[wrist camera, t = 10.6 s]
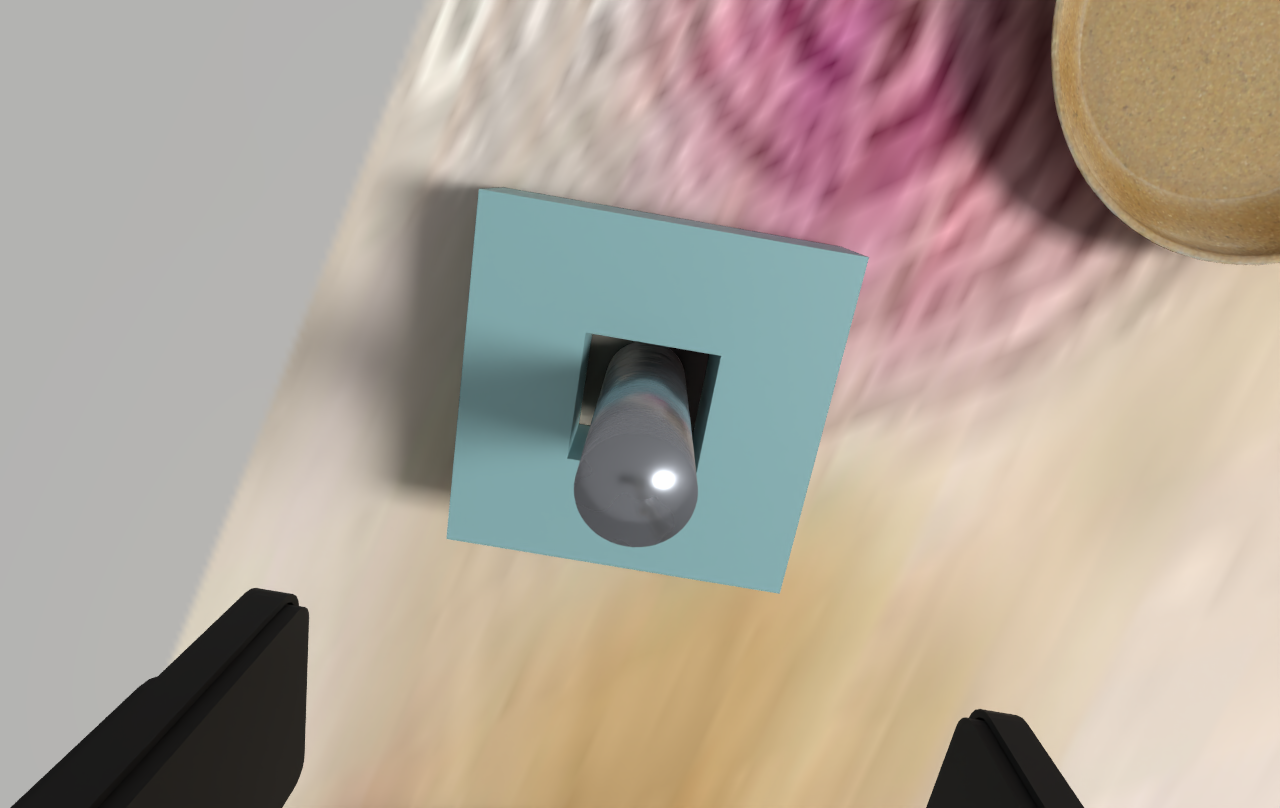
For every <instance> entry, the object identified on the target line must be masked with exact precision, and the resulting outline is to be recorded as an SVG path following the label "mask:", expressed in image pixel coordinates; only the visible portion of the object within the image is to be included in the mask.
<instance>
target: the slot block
mask: <svg viewBox="0 0 1280 808" xmlns="http://www.w3.org/2000/svg"><path fill="white" fill-rule="evenodd" d="M868 259H869V257H867V256H864V255H861V254H859V253H856V252H854V251H851V250H848V249H846V248H843V247H840V246H834V245H829V244H823V243H817V242H811V241H806V240H800V239H794V238H789V237H783V236H777V235H772V234H766V233H760V232H755V231H749V230H743V229H738V228H732V227H726V226H720V225H715V224H709V223H703V222H698V221H692V220H686V219H681V218H675V217H669V216H664V215H658V214H652V213H647V212H641V211H635V210H629V209H624V208H618V207H612V206H607V205H601V204H595V203H590V202H584V201H578V200H573V199H567V198H561V197H556V196H550V195H544V194H538V193H533V192H527V191H521V190H516V189H510V188H504V187H503V188H486V189H479V193H478V204H477V215H476V226H475V237H474V247H473V258H472V269H471V280H470V291H469V302H468V312H467V323H466V334H465V345H464V356H463V367H462V377H461V388H460V399H459V410H458V421H457V432H456V442H455V453H454V464H453V475H452V486H451V496H450V507H449V518H448V529H447V539H451V540H457V541H463V542H469V543H475V544H481V545H487V546H493V547H500V548H506V549H512V550H518V551H524V552H530V553H536V554H542V555H548V556H554V557H560V558H566V559H572V560H579V561H585V562H591V563H597V564H603V565H609V566H615V567H621V568H627V569H633V570H639V571H645V572H651V573H658V574H664V575H670V576H676V577H682V578H688V579H694V580H700V581H706V582H712V583H718V584H724V585H730V586H737V587H743V588H749V589H755V590H761V591H767V592H773V593H779V594H780V590H781V586H782V582H783V579H784V575H785V571H786V567H787V564H788V560H789V556H790V552H791V548H792V545H793V541H794V537H795V533H796V530H797V526H798V522H799V518H800V515H801V511H802V507H803V503H804V500H805V496H806V492H807V488H808V485H809V481H810V477H811V473H812V469H813V466H814V462H815V458H816V454H817V451H818V447H819V443H820V439H821V436H822V432H823V428H824V424H825V421H826V417H827V413H828V409H829V406H830V402H831V398H832V394H833V390H834V387H835V383H836V379H837V375H838V372H839V368H840V364H841V360H842V357H843V353H844V349H845V345H846V342H847V338H848V334H849V330H850V327H851V323H852V319H853V315H854V311H855V308H856V304H857V300H858V296H859V293H860V289H861V285H862V281H863V278H864V274H865V270H866V266H867V263H868ZM592 334H597V335H603V336H609V337H615V338H621V339H626V340H632V341H638V342H644V343H650V344H655V345H661V346H667V347H673V348H679V349H685V350H690V351H696V352H702V353H708V354H709V358H708V363H707V368H706V373H705V378H704V383H703V387H702V392H701V397H700V402H699V407H698V412H697V417H696V422H695V427H694V431H693V436H692V440H693V449H694V458H695V466H696V475H697V484H698V498H697V504H696V507H695V510H694V512H693V515H692V517H691V518H690V520H689V521H688V523H687V524H686V525H685V526H684V528H683V529H682V530H681V531H679V532H678V533H677V534H676V535H674V536H673V537H672V538H670V539H668V540H666V541H664V542H662V543H659V544H656V545H652V546H647V547H626V546H622V545H618V544H615V543H612V542H609V541H607V540H605V539H603V538H602V537H600V536H599V535H597V534H596V533H595V532H594V531H593V530H591V529H590V527H589V526H588V525H587V524H586V523H585V522H584V520H583V519H582V517H581V515H580V513H579V511H578V509H577V506H576V503H575V498H574V481H575V476H576V473H577V469H578V466H579V462H580V459H581V456H582V452H583V449H584V445H585V442H586V439H587V435H588V432H589V428H590V426H588V425H582V424H579V420H580V413H581V407H582V400H583V393H584V387H585V380H586V373H587V367H588V360H589V353H590V347H591V340H592Z"/></svg>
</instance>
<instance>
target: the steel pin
mask: <svg viewBox="0 0 1280 808" xmlns="http://www.w3.org/2000/svg"><path fill="white" fill-rule="evenodd" d="M574 498H575V503H576V506H577V509H578V511H579V513H580V515H581V517H582V519H583V520H584V522H585V523H586V524H587V525H588V526H589V527H590V529H591V530H593V531H594V532H595V533H596V534H597V535H599V536H600V537H602V538H603V539H605V540H607V541H609V542H612V543H615V544H618V545H622V546H626V547H647V546H652V545H656V544H659V543H662V542H664V541H666V540H668V539H670V538H672V537H673V536H674V535H676V534H677V533H678V532H679V531H681V530H682V529H683V528H684V526H685V525H686V524H687V523H688V521H689V520H690V518H691V517H692V515H693V512H694V510H695V507H696V504H697V498H698V484H697V475H696V466H695V458H694V449H693V440H692V431H691V423H690V414H689V405H688V397H687V388H686V379H685V372H684V368H683V365H682V363H681V361H680V359H679V358H678V357H677V355H676V354H675V353H674V352H673V351H672V350H671V349H669V348H668V347H666V346H661V345H655V344H650V343H644V342H638V341H637V342H633V343H630V344H628V345H626V346H624V347H623V348H621V349H620V350H619V351H618V352H617V353H616V354H615V355H614V356H613V358H612V359H611V361H610V363H609V365H608V368H607V371H606V374H605V378H604V381H603V384H602V388H601V391H600V395H599V398H598V401H597V405H596V408H595V412H594V415H593V418H592V422H591V425H590V428H589V432H588V435H587V439H586V442H585V445H584V449H583V452H582V456H581V459H580V462H579V466H578V469H577V473H576V476H575V481H574Z"/></svg>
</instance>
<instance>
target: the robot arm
mask: <svg viewBox="0 0 1280 808" xmlns="http://www.w3.org/2000/svg"><path fill="white" fill-rule="evenodd" d="M308 632H309V612H308V609H307V608H305V607H301V606H299V603H298V599H297V596H295V595H294V594H289V593H283V592H277V591H271V590H265V589H259V588H253V589H250V590H249V591H247V592H246V593H245V594H244V595H243V596H242V597H241V598H239V599H238V600H237V601H236V602H235V603H234V604H233V605H232V606H231V607H230V608H229V609H228V610H227V611H226V612H225V613H224V614H223V615H222V616H221V617H220V618H219V619H218V620H216V621H215V622H214V623H213V624H212V625H211V626H210V627H209V628H208V629H207V630H206V631H205V632H204V633H203V634H202V635H201V636H200V637H199V638H198V639H197V640H196V641H194V642H193V643H192V644H191V645H190V646H189V647H188V648H187V649H186V650H185V651H184V652H183V653H182V654H181V655H180V656H179V657H178V658H177V659H176V660H175V661H174V662H172V663H171V664H170V665H169V666H168V667H167V668H166V669H165V670H164V671H163V672H162V673H161V674H160V675H159V676H157V677H155V678H151V679H149V680H148V681H146V682H145V683H144V684H142V685H141V686H140V687H139V688H137V689H136V690H135V691H134V692H133V693H132V694H131V695H130V696H129V697H128V698H127V699H125V701H123V702H122V703H121V704H120V705H119V706H118V707H117V708H116V709H115V710H114V711H113V712H112V713H111V714H110V715H108V717H106V718H105V719H104V720H103V721H102V722H101V723H100V724H99V725H98V726H97V727H96V728H95V729H94V730H93V731H92V732H90V733H89V734H88V735H87V736H86V737H85V738H84V739H83V740H82V741H81V742H80V743H79V744H78V745H77V746H75V747H74V748H73V749H72V750H71V751H70V752H69V753H68V754H67V755H66V756H65V757H64V758H63V759H62V760H61V761H60V762H58V763H57V764H56V765H55V766H54V767H53V768H52V769H51V770H50V771H49V772H48V773H47V774H46V775H45V776H44V777H43V778H41V779H40V780H39V781H38V782H37V783H36V784H35V785H34V786H33V787H32V788H31V789H30V790H29V791H28V792H27V793H26V794H25V795H23V796H22V797H21V798H20V799H19V800H18V801H17V802H16V803H15V804H14V805H13V806H12V807H11V808H282V807H283V805H284V804H285V802H286V801H287V799H288V797H289V796H290V794H291V793H292V791H293V789H294V787H295V786H296V784H297V782H298V779H299V777H300V774H301V771H302V768H303V763H304V754H305V723H306V693H307V662H308ZM926 808H1084V807H1083V805H1082V804H1081V802H1080V801H1079V799H1078V798H1077V796H1076V795H1075V793H1074V792H1073V790H1072V789H1071V788H1070V786H1069V785H1068V783H1067V782H1066V780H1065V779H1064V777H1063V776H1062V774H1061V773H1060V771H1059V770H1058V768H1057V767H1056V765H1055V764H1054V762H1053V761H1052V759H1051V758H1050V756H1049V755H1048V753H1047V752H1046V751H1045V749H1044V748H1043V746H1042V745H1041V743H1040V742H1039V740H1038V739H1037V737H1036V736H1035V734H1034V733H1033V731H1032V730H1031V728H1030V727H1029V725H1028V724H1027V723H1026V722H1025V720H1024V719H1023V718H1021V717H1019V716H1017V715H1012V714H1006V713H1000V712H994V711H988V710H982V709H978V710H975V711H974V712H972V713H971V715H970V717H969V718H962V719H961V720H960V721H959V722H958V724H957V726H956V729H955V732H954V734H953V737H952V740H951V742H950V745H949V748H948V751H947V753H946V756H945V759H944V761H943V764H942V767H941V769H940V772H939V775H938V778H937V780H936V783H935V786H934V788H933V791H932V794H931V796H930V799H929V802H928V805H927V807H926Z"/></svg>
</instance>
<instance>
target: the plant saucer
mask: <svg viewBox="0 0 1280 808" xmlns="http://www.w3.org/2000/svg"><path fill="white" fill-rule="evenodd" d="M1051 72H1052V84H1053V92H1054V99H1055V105H1056V110H1057V114H1058V117H1059V121H1060V124H1061V127H1062V131H1063V135H1064V138H1065V140H1066V143H1067V146H1068V148H1069V150H1070V152H1071V155H1072V157H1073V159H1074V161H1075V164H1076V166H1077V167H1078V169H1079V170H1080V172H1081V174H1082V176H1083V177H1084V179H1085V180H1086V182H1087V184H1088V185H1089V186H1090V187H1091V189H1092V190H1093V192H1095V194H1096V195H1097V197H1098V198H1099V199H1100V200H1101V201H1102V202H1103V203H1104V204H1105V205H1106V207H1107V208H1108V209H1109V210H1110V211H1111V212H1112V213H1113V214H1114V215H1115V216H1117V217H1118V218H1119V219H1120V220H1121V221H1123V222H1124V223H1125V224H1126V225H1128V226H1129V227H1130V228H1131V229H1133V230H1134V231H1136V232H1137V233H1139V234H1140V235H1142V236H1144V237H1145V238H1147V239H1149V240H1150V241H1151V242H1153V243H1155V244H1157V245H1159V246H1161V247H1164V248H1166V249H1168V250H1170V251H1172V252H1176V253H1179V254H1182V255H1185V256H1189V257H1192V258H1195V259H1199V260H1204V261H1210V262H1216V263H1224V264H1236V265H1249V264H1250V265H1263V264H1272V263H1280V0H1056V2H1055V8H1054V15H1053V24H1052V36H1051Z"/></svg>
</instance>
